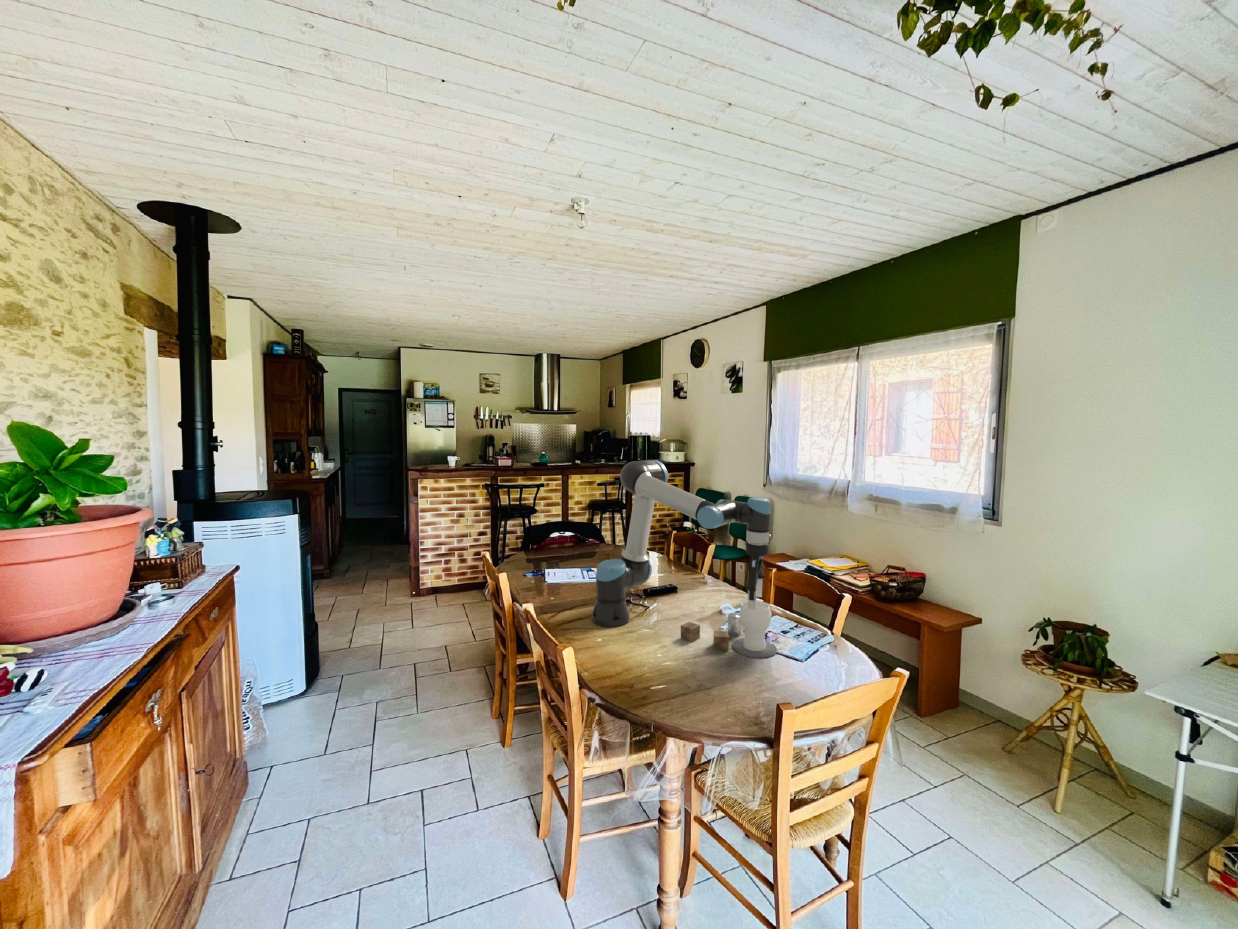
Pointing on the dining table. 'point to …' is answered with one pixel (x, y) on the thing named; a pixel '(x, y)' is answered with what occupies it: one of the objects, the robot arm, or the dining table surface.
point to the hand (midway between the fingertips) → (754, 602)
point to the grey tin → (734, 624)
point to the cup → (755, 625)
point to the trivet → (766, 653)
